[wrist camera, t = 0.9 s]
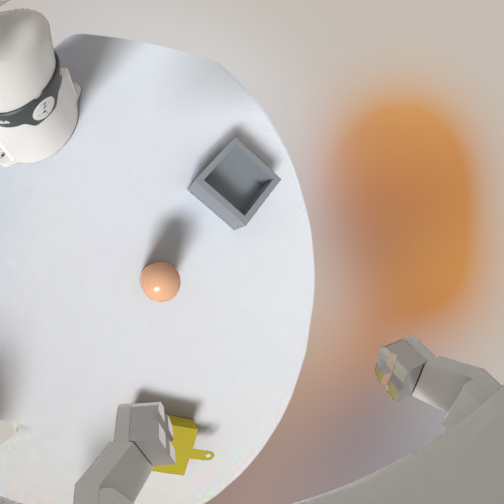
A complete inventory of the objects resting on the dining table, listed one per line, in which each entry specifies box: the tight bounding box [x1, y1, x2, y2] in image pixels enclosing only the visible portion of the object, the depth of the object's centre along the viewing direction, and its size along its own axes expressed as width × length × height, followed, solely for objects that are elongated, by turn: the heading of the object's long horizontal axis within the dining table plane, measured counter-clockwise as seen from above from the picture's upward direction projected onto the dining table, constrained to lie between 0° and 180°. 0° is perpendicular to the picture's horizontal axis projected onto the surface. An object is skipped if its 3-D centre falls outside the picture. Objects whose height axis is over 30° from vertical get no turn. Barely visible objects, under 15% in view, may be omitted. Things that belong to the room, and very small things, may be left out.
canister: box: [140, 262, 180, 302], centre depth 39 cm, size 5×5×8 cm
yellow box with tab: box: [152, 415, 214, 475], centre depth 37 cm, size 16×8×15 cm
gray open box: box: [188, 137, 281, 230], centre depth 45 cm, size 10×10×5 cm
